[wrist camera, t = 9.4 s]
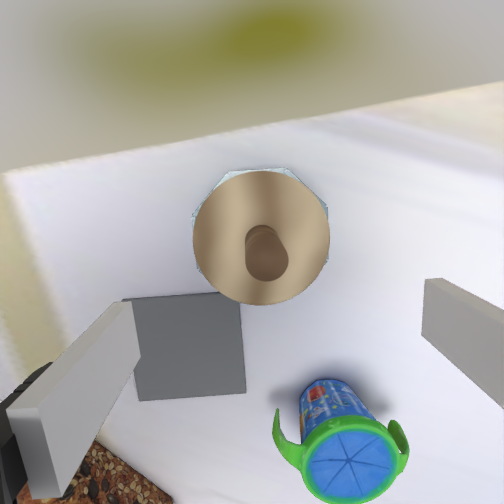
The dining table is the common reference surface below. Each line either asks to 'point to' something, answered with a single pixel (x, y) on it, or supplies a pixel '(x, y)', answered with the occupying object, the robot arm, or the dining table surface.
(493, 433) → the dining table surface
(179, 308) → the mat
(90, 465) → the bread
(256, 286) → the lid
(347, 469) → the snack cup
